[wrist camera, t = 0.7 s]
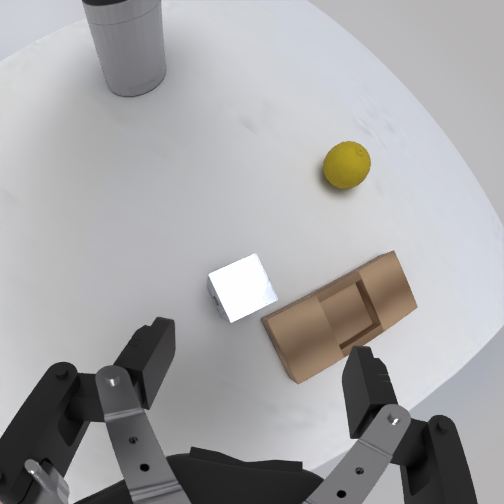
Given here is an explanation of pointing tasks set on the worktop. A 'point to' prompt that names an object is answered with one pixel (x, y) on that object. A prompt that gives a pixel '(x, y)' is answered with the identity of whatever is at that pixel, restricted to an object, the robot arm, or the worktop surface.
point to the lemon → (347, 165)
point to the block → (241, 288)
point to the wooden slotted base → (340, 317)
